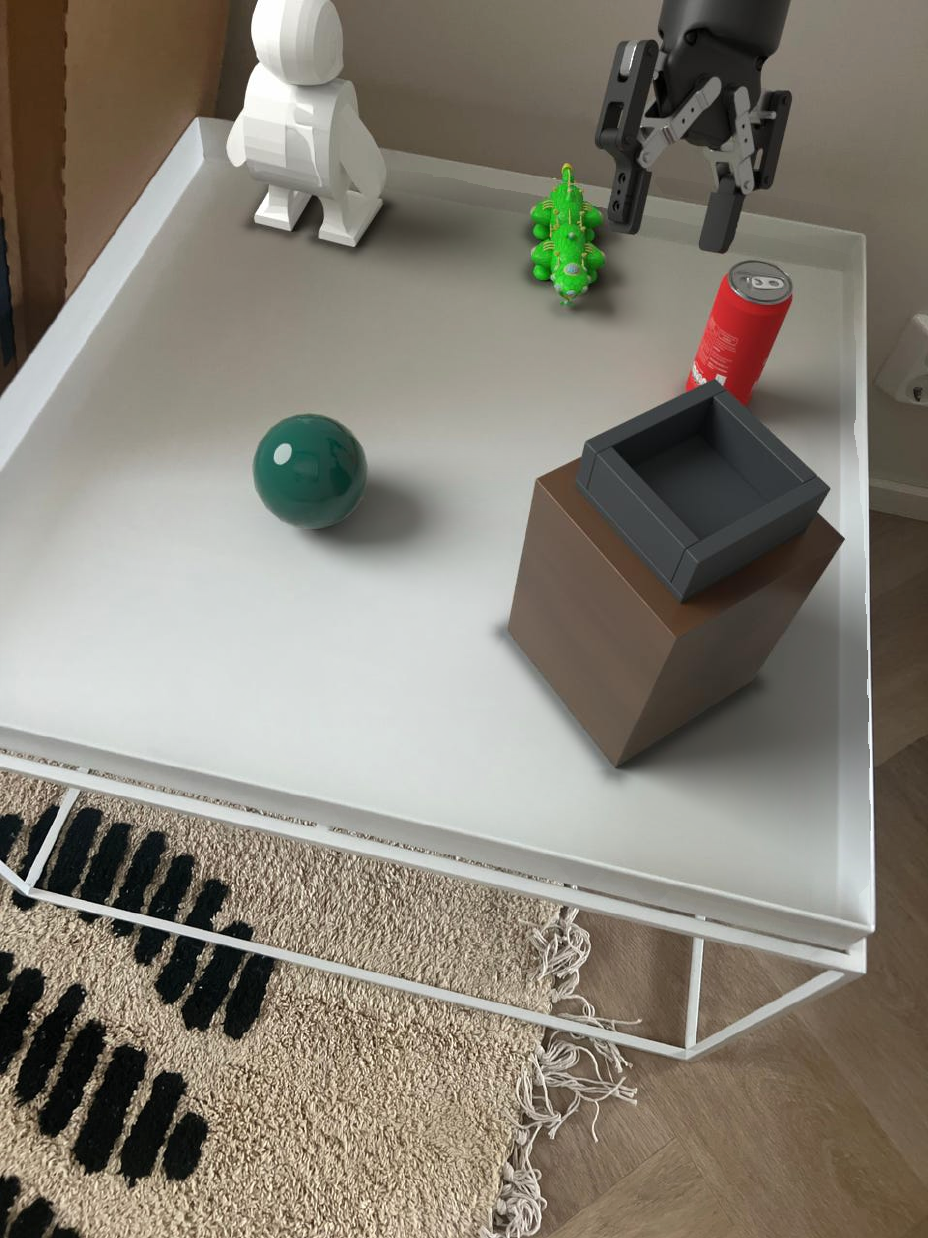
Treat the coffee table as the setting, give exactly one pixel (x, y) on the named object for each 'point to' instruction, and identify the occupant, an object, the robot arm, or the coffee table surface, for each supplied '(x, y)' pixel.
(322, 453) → the sphere
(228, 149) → the toy robot
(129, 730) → the coffee table surface
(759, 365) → the beverage can
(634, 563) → the stand
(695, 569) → the socket
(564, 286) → the crocodile figurine
